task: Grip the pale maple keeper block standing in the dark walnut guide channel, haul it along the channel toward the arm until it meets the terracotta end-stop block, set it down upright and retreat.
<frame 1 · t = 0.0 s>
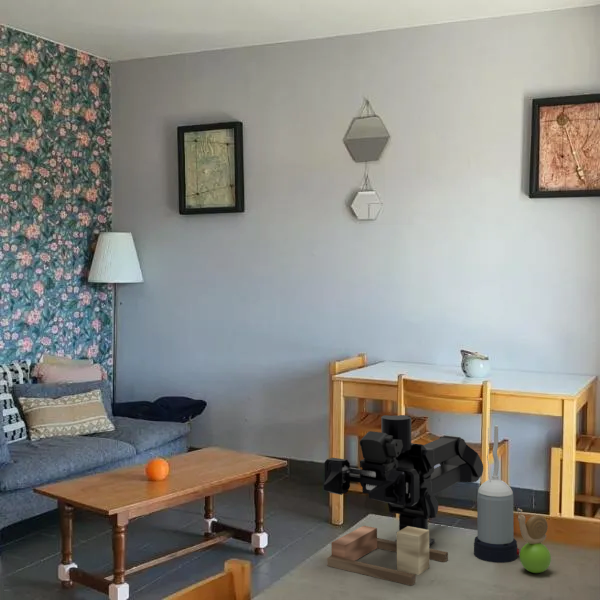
hand: (346, 491, 141), 17 cm above the table, tool horizontal, fingers open, 9 cm apart
guide track: (388, 562, 152), on the table
snail figurine: (533, 573, 146), on the table
humidifier: (495, 556, 155), on the table
keeper block: (413, 568, 149), on the table
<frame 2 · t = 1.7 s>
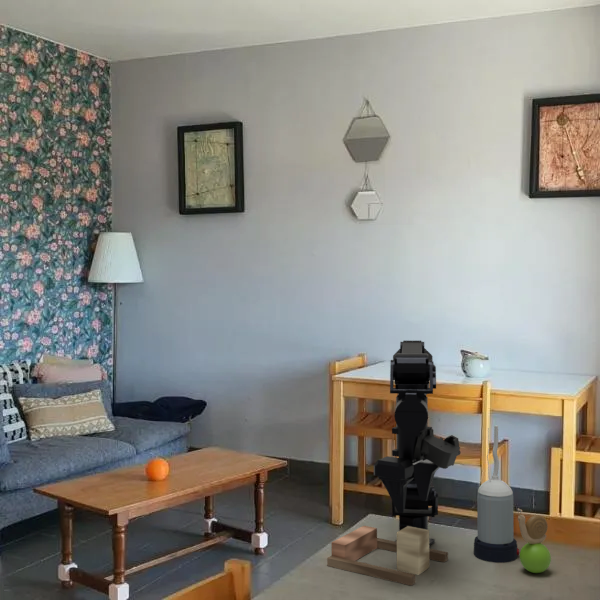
hand: (412, 506, 148), 12 cm above the table, tool pointing down, fingers open, 9 cm apart
nothing on the table moved.
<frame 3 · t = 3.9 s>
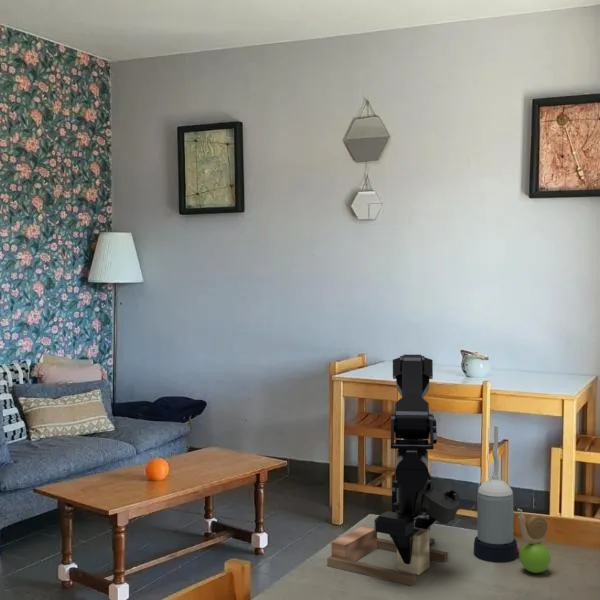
hand: (413, 559, 149), 2 cm above the table, tool pointing down, fingers closed on keeper block, 4 cm apart
keeper block: (413, 568, 149), on the table, touching gripper
everything else where it was.
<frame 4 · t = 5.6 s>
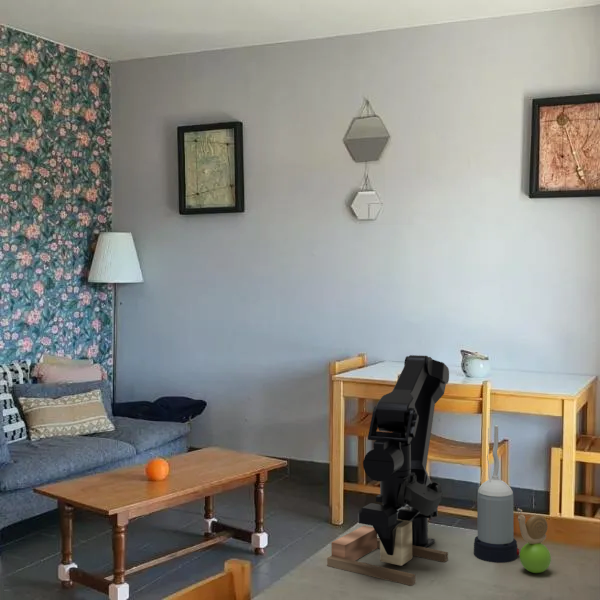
hand: (396, 551, 151), 3 cm above the table, tool pointing down, fingers closed on keeper block, 4 cm apart
keeper block: (396, 559, 151), point 1 cm above the table, touching gripper
everything else where it was.
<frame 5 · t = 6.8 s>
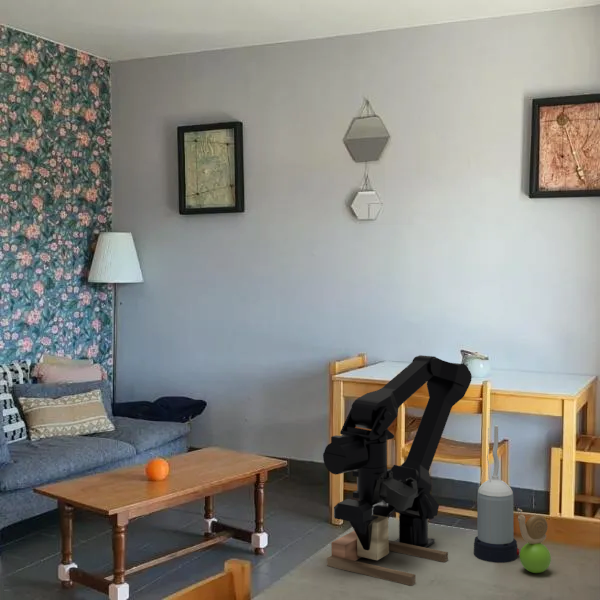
hand: (372, 546, 153), 3 cm above the table, tool pointing down, fingers closed on keeper block, 4 cm apart
keeper block: (373, 554, 153), point 1 cm above the table, touching gripper
everything else where it was.
when the fingers open (2 cm above the table, at t = 7.8 s): keeper block stays where it is, on the table.
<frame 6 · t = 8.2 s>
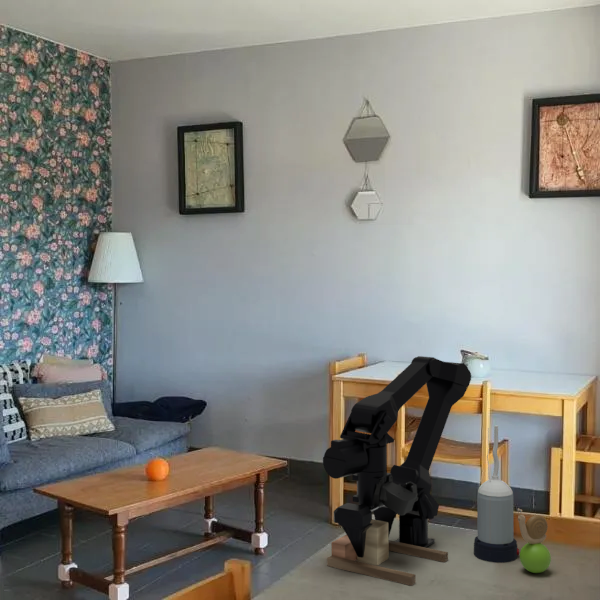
hand: (372, 550, 153), 2 cm above the table, tool pointing down, fingers open, 9 cm apart
keeper block: (372, 559, 154), on the table
everything else where it was.
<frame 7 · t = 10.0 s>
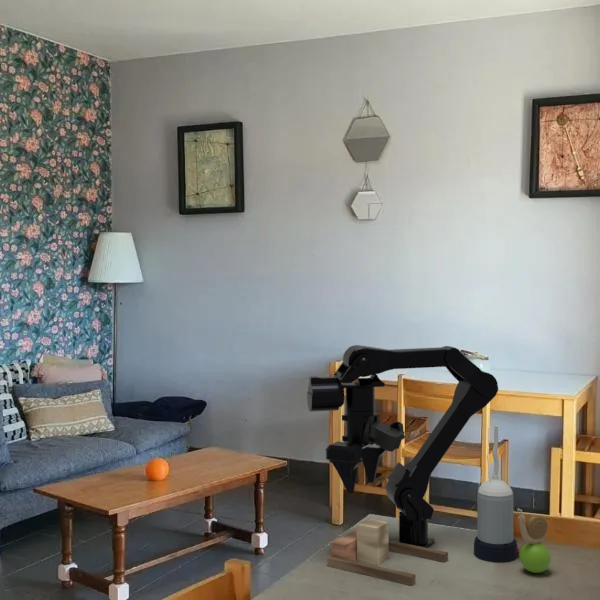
hand: (361, 487, 160), 12 cm above the table, tool pointing down, fingers open, 9 cm apart
nothing on the table moved.
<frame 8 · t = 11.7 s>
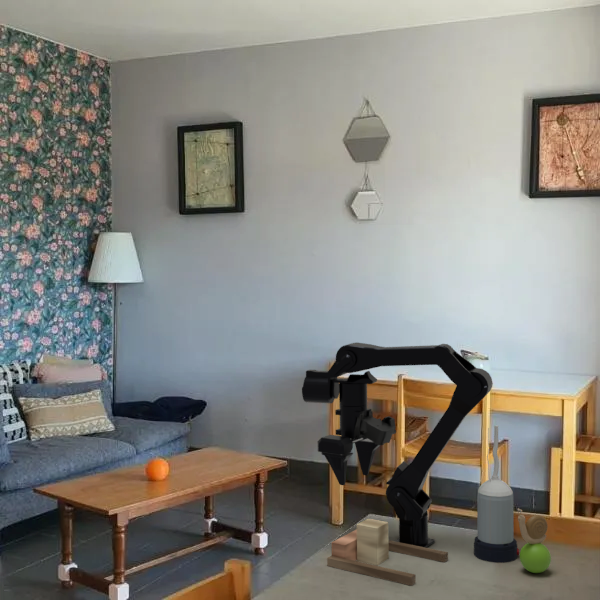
hand: (354, 479, 166), 12 cm above the table, tool pointing down, fingers open, 9 cm apart
nothing on the table moved.
at the end: keeper block 0.1 cm from the target spot, on the table; keeper block tilted 0°; the gripper is holding nothing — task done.
